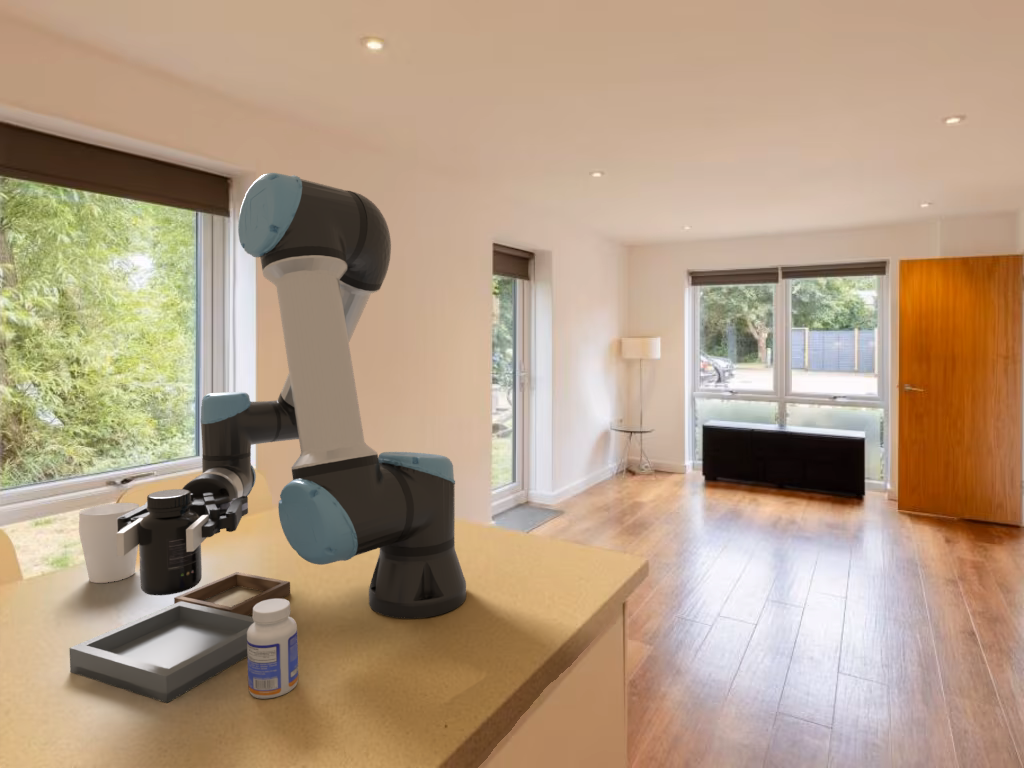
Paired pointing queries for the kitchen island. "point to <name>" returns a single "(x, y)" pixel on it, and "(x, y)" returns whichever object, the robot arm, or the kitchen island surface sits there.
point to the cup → (105, 543)
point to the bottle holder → (268, 585)
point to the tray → (165, 650)
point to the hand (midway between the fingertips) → (155, 542)
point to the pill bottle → (272, 650)
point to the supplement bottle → (168, 544)
